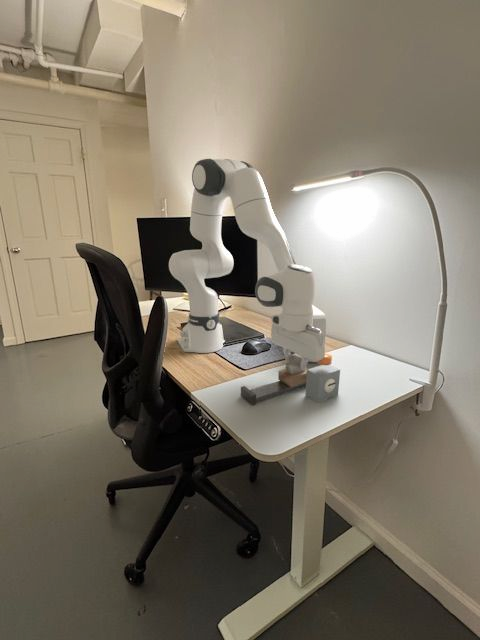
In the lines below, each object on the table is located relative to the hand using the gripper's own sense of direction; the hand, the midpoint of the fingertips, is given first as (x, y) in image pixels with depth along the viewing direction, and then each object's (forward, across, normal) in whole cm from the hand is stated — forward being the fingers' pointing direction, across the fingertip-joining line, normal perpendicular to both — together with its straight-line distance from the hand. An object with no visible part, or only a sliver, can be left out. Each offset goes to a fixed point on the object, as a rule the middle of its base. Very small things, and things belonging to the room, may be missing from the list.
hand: (295, 365), depth 99 cm
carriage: (+5, 0, 0) cm, 5 cm away
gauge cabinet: (+7, -9, -2) cm, 11 cm away
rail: (+7, 0, +6) cm, 9 cm away
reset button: (-3, -9, -2) cm, 10 cm away
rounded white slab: (+7, +21, -24) cm, 32 cm away
